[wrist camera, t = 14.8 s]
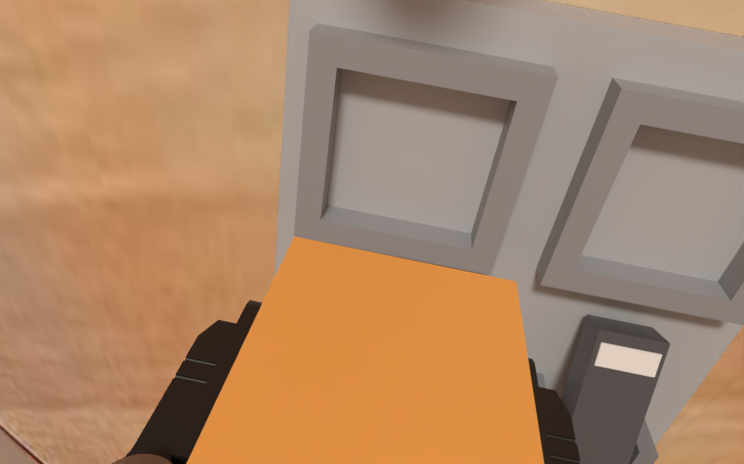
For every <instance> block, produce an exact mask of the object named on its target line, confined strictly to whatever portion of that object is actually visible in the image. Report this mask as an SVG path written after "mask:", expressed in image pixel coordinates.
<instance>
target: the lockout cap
mask: <svg viewBox="0 0 744 464" xmlns="http://www.w3.org/2000/svg"><path fill="white" fill-rule="evenodd" d="M187 464H544V459H543V452H542V446H541V439H540V433H539V426H538V420H537V413H536V407H535V400H534V394H533V387H532V381H531V374H530V367H529V361H528V354H527V348H526V341H525V335H524V328H523V322H522V315H521V309H520V302H519V296H518V289H517V283H516V281H511V280H507V279H502V278H497V277H492V276H487V275H482V274H477V273H472V272H467V271H462V270H457V269H452V268H448V267H443V266H438V265H433V264H428V263H423V262H418V261H413V260H408V259H403V258H398V257H393V256H389V255H384V254H379V253H374V252H369V251H364V250H359V249H354V248H349V247H344V246H339V245H334V244H329V243H325V242H320V241H315V240H310V239H305V238H300V237H295V236H294V237H293V240H292V242H291V244H290V246H289V248H288V250H287V252H286V254H285V256H284V259H283V261H282V263H281V265H280V267H279V269H278V271H277V273H276V275H275V278H274V280H273V282H272V284H271V286H270V288H269V290H268V292H267V294H266V297H265V299H264V301H263V303H262V305H261V307H260V309H259V311H258V313H257V316H256V318H255V320H254V322H253V324H252V326H251V328H250V330H249V333H248V335H247V337H246V339H245V341H244V343H243V345H242V347H241V349H240V352H239V354H238V356H237V358H236V360H235V362H234V364H233V366H232V368H231V371H230V373H229V375H228V377H227V379H226V381H225V383H224V385H223V387H222V390H221V392H220V394H219V396H218V398H217V400H216V402H215V404H214V406H213V409H212V411H211V413H210V415H209V417H208V419H207V421H206V423H205V426H204V428H203V430H202V432H201V434H200V436H199V438H198V440H197V442H196V445H195V447H194V449H193V451H192V453H191V455H190V457H189V459H188V461H187Z"/></svg>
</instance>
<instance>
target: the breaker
mask: <svg viewBox="0 0 744 464" xmlns="http://www.w3.org/2000/svg"><path fill="white" fill-rule="evenodd" d="M669 347H670V343H669V342H668V341H667V340H666V339H665V338H664V337H663V336H662V335H660V334H659V333H658V332H657V331H656V330H655V329H654V328H653V327H648V326H643V325H638V324H633V323H628V322H623V321H618V320H613V319H608V318H603V317H598V316H593V315H588V314H587V315H586V318H585V321H584V325H583V328H582V331H581V335H580V338H579V341H578V345H577V348H576V351H575V355H574V358H573V361H572V365H571V368H570V371H569V375H568V378H567V381H566V384H565V388H564V391H563V394H562V398H561V400H562V401H563V403H564V405H565V406H566V408H567V409H568V411H569V412H570V414H571V419H572V424H573V428H574V433H575V437H576V440H575V444H577V447H578V451H579V456H580V464H629V462H630V459H631V456H632V453H633V450H634V448H635V445H636V442H637V439H638V436H639V433H640V430H641V427H642V425H643V422H644V419H645V416H646V413H647V410H648V407H649V404H650V402H651V399H652V396H653V393H654V390H655V387H656V384H657V381H658V379H659V376H660V373H661V370H662V367H663V364H664V361H665V358H666V356H667V353H668V350H669Z"/></svg>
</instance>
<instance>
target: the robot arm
mask: <svg viewBox="0 0 744 464" xmlns="http://www.w3.org/2000/svg"><path fill="white" fill-rule="evenodd" d="M261 305H262V303H261V302H256V301H252V300H250V301H249V302H248V303H247V304H246V306H245V308H244V310H243V312H242V314H241V316H240V318H239V320H238V322H237V324H236V323H231V322H226V321H221V320H218V321H216V322H215V323H214V324H213V325H211V326H210V327H209V328H207V329H206V330H205V331H204V332H202V333H201V334H200V335H199V336H198V337H197V339H196V340H195V342H194V344H193V345H192V347H191V349H190V351H189V352H188V354H187V356H186V359H185V361H183V363H182V364H181V366H180V368H179V369H178V371H177V373H176V377H175V379H174V378H173V380H172V382H171V383H170V385H169V387H168V388H167V390H166V392H165V394H164V395H163V397H162V399H161V400H160V402H159V404H158V406H157V407H156V409H155V411H154V412H153V414H152V416H151V418H150V419H149V421H148V423H147V425H146V426H145V428H144V430H143V431H142V433H141V435H140V437H139V438H138V440H137V442H136V443H135V445H134V446H133V448H132V449H131V451H130V452H129V453H128V454H127V455H126V456H125V457H124V458H122V459H120V460H117V461H116V462H114V463H112V464H187V461H188V459H189V457H190V455H191V453H192V451H193V449H194V447H195V445H196V442H197V440H198V438H199V436H200V434H201V432H202V430H203V428H204V426H205V423H206V421H207V419H208V417H209V415H210V413H211V411H212V409H213V406H214V404H215V402H216V400H217V398H218V396H219V394H220V392H221V390H222V387H223V385H224V383H225V381H226V379H227V377H228V375H229V373H230V371H231V368H232V366H233V364H234V362H235V360H236V358H237V356H238V354H239V352H240V349H241V347H242V345H243V343H244V341H245V339H246V337H247V335H248V333H249V330H250V328H251V326H252V324H253V322H254V320H255V318H256V316H257V313H258V311H259V309H260V307H261ZM528 361H529V367H530V374H531V381H532V387H533V394H534V400H535V407H536V413H537V420H538V426H539V433H540V439H541V446H542V452H543V459H544V464H580V456H579V451H578V447H577V444H575V440H576V437H575V433H574V428H573V424H572V419H571V414H570V412H569V411H568V409H567V408H566V406H565V405H564V403H563V401H562V400H561V398H560V397H559V395H558V394H557V392H556V390H552V389H547V388H542V387H539V385H538V379H537V373H536V367H535V363H534V361H533V359H532V358H528Z"/></svg>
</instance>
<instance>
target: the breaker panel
mask: <svg viewBox="0 0 744 464" xmlns="http://www.w3.org/2000/svg"><path fill="white" fill-rule="evenodd" d="M294 236H295V237H300V238H305V239H310V240H315V241H320V242H325V243H329V244H334V245H339V246H344V247H349V248H354V249H359V250H364V251H369V252H374V253H379V254H384V255H389V256H393V257H398V258H403V259H408V260H413V261H418V262H423V263H428V264H433V265H438V266H443V267H448V268H452V269H457V270H462V271H467V272H472V273H477V274H482V275H487V276H492V277H497V278H502V279H507V280H511V281H516V283H517V289H518V296H519V302H520V309H521V315H522V322H523V328H524V335H525V341H526V348H527V354H528V358H532V359H533V361H534V363H535V367H536V373H537V379H538V385H539V387H542V388H547V389H552V390H556V392H557V394H558V395H559V397H560V398H562V394H563V391H564V388H565V384H566V381H567V378H568V375H569V371H570V368H571V365H572V361H573V358H574V355H575V351H576V348H577V345H578V341H579V338H580V335H581V331H582V328H583V325H584V321H585V318H586V315H587V314H588V315H593V316H598V317H603V318H608V319H613V320H618V321H623V322H628V323H633V324H638V325H643V326H648V327H653V328H654V329H655V330H656V331H657V332H658V333H659V334H660V335H662V336H663V337H664V338H665V339H666V340H667V341H668V342H669V343H670V347H669V350H668V353H667V356H666V358H665V361H664V364H663V367H662V370H661V373H660V376H659V379H658V381H657V384H656V387H655V390H654V393H653V396H652V399H651V402H650V404H649V407H648V410H647V413H646V416H645V419H644V422H643V425H642V427H641V430H640V433H639V436H638V439H637V442H636V445H635V448H634V450H633V453H632V456H631V459H630V462H629V464H654V462H655V461H656V460H657V458H658V457H659V456H658V454H657V451H656V448H655V446H656V444H657V443H658V441H659V440H660V439H661V437H662V436H663V435H664V433H665V432H666V430H667V429H668V428H669V426H670V425H671V424H672V422H673V421H674V419H675V418H676V417H677V415H678V414H679V413H680V411H681V410H682V409H683V407H684V406H685V404H686V403H687V402H688V400H689V399H690V398H691V396H692V395H693V393H694V392H695V391H696V389H697V388H698V387H699V385H700V384H701V382H702V381H703V380H704V378H705V377H706V376H707V374H708V373H709V372H710V370H711V369H712V367H713V366H714V365H715V363H716V362H717V361H718V359H719V358H720V356H721V355H722V354H723V352H724V351H725V350H726V348H727V347H728V346H729V344H730V343H731V341H732V340H733V339H734V337H735V336H736V335H737V333H738V332H739V330H740V329H741V328H742V326H743V325H744V37H739V36H734V35H728V34H723V33H717V32H712V31H706V30H700V29H695V28H689V27H684V26H678V25H673V24H667V23H662V22H656V21H651V20H645V19H640V18H634V17H629V16H623V15H617V14H612V13H606V12H601V11H595V10H590V9H584V8H579V7H573V6H568V5H562V4H557V3H551V2H545V1H540V0H290V6H289V24H288V43H287V61H286V79H285V97H284V115H283V133H282V152H281V170H280V188H279V206H278V224H277V243H276V261H275V275H276V273H277V271H278V269H279V267H280V265H281V263H282V261H283V259H284V256H285V254H286V252H287V250H288V248H289V246H290V244H291V242H292V240H293V237H294Z"/></svg>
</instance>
